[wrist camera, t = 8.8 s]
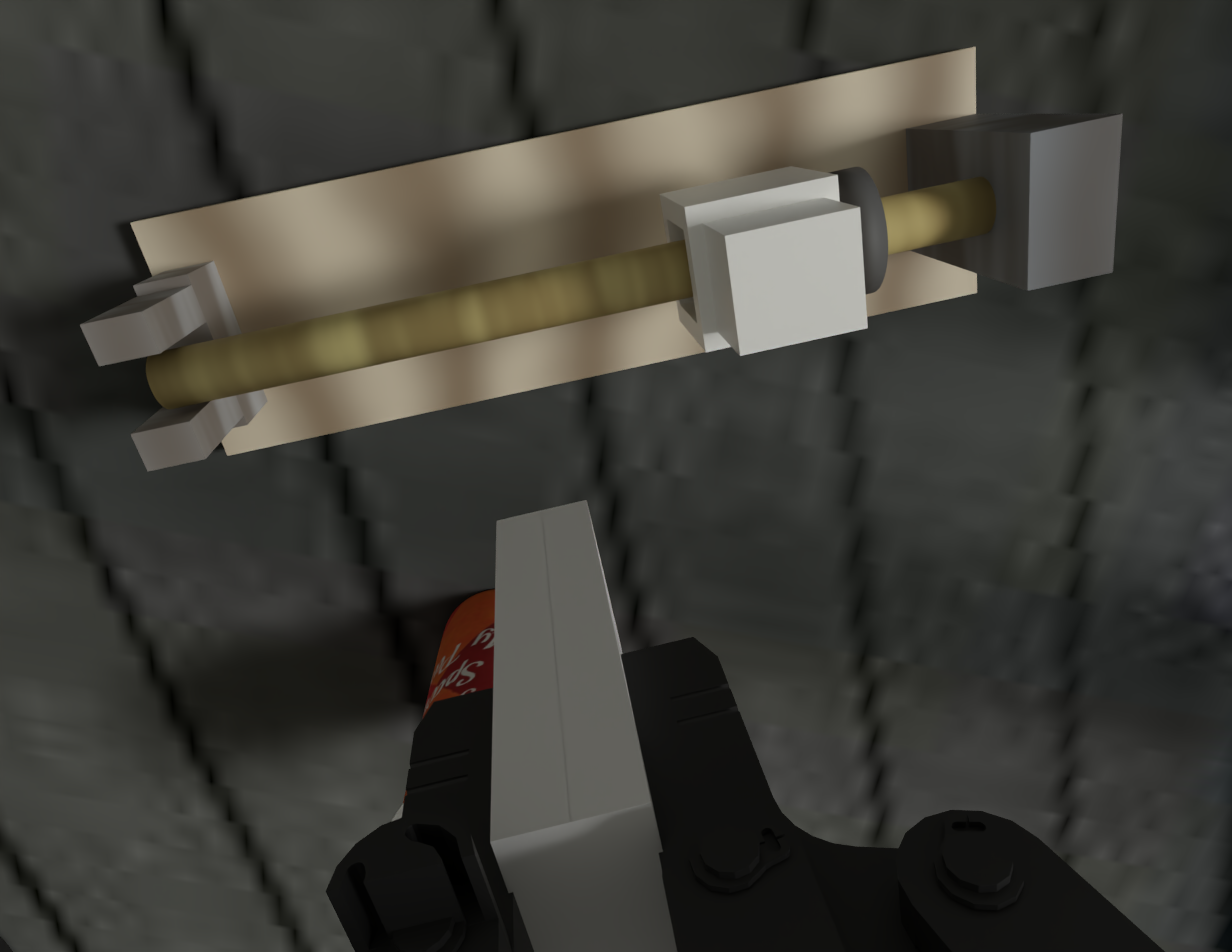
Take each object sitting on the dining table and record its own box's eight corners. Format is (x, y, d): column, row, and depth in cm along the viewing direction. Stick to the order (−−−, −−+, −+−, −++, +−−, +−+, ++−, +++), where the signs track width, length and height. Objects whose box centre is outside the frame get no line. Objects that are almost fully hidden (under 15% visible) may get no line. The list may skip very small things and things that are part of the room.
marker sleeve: (679, 320, 33) (727, 377, 25) (659, 194, 31) (704, 217, 23) (803, 293, 33) (884, 343, 26) (790, 166, 31) (875, 181, 24)
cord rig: (234, 447, 37) (145, 555, 28) (140, 219, 33) (0, 259, 24) (965, 288, 38) (1108, 343, 29) (962, 48, 34) (1128, 24, 25)
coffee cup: (480, 538, 40) (465, 755, 27) (613, 617, 43) (662, 851, 30) (387, 659, 43) (330, 917, 29) (520, 727, 45) (524, 992, 32)
